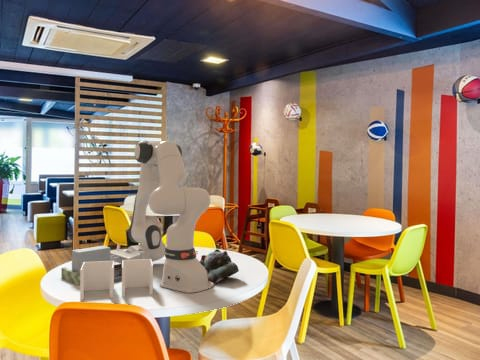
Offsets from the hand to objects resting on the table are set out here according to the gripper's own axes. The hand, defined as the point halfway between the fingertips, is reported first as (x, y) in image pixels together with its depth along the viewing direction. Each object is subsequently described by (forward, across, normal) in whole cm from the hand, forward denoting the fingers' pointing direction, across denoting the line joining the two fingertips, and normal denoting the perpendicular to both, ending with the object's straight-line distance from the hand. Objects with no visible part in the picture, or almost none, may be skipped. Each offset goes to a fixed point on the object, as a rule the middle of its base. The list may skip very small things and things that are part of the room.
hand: (106, 260), depth 170 cm
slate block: (+7, 0, +6) cm, 9 cm away
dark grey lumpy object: (-28, +41, +6) cm, 50 cm away
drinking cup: (-27, -22, +6) cm, 35 cm away
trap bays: (+1, 0, +6) cm, 6 cm away
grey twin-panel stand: (+10, +26, +6) cm, 29 cm away
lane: (+3, 0, +6) cm, 7 cm away
